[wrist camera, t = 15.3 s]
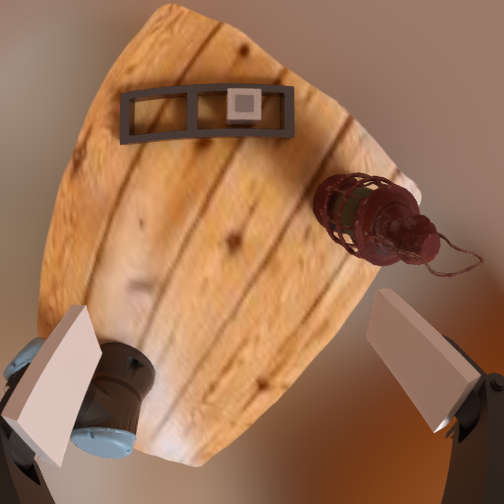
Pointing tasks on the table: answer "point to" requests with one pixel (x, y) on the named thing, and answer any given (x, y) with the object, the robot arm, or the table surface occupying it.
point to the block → (243, 106)
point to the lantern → (379, 222)
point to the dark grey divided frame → (192, 113)
